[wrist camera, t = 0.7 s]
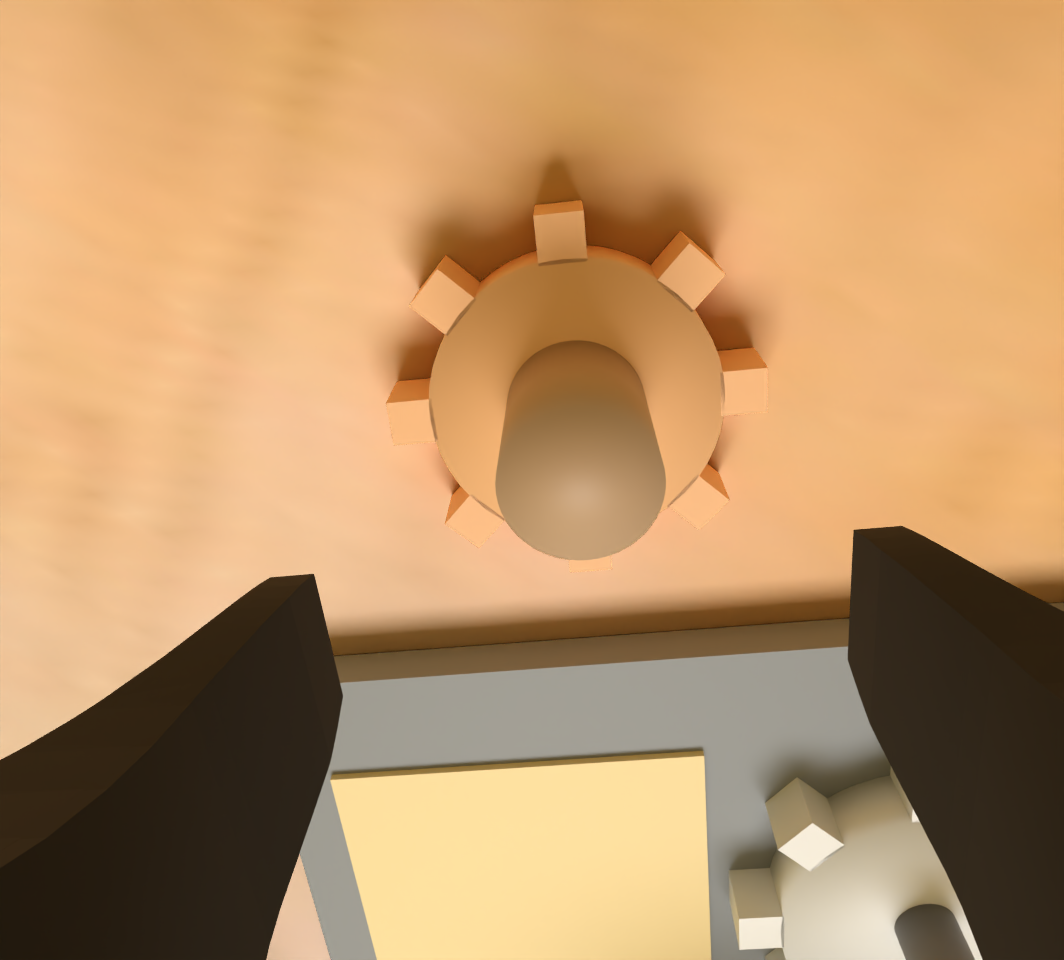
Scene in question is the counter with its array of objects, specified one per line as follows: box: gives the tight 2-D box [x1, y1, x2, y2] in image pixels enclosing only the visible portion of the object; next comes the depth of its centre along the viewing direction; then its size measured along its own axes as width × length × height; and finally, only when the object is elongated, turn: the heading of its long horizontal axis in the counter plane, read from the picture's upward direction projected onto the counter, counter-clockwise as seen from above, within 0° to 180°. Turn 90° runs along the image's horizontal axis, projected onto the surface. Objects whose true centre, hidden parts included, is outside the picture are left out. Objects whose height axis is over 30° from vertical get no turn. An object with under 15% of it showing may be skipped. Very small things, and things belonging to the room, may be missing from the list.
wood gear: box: [386, 200, 768, 573], centre depth 18 cm, size 8×8×6 cm
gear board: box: [300, 602, 1064, 960], centre depth 24 cm, size 22×14×6 cm, turn 96°
